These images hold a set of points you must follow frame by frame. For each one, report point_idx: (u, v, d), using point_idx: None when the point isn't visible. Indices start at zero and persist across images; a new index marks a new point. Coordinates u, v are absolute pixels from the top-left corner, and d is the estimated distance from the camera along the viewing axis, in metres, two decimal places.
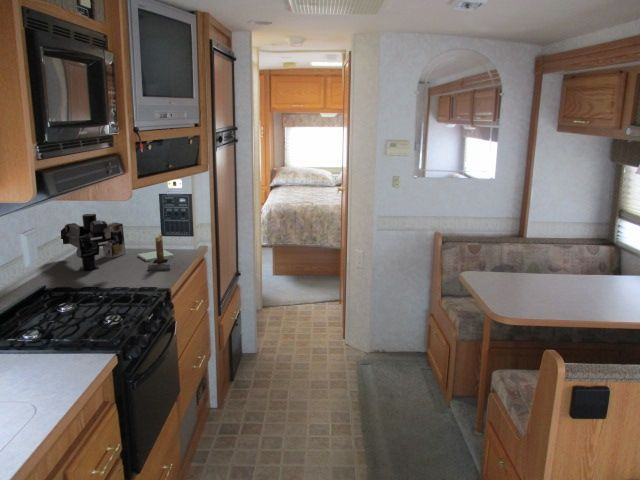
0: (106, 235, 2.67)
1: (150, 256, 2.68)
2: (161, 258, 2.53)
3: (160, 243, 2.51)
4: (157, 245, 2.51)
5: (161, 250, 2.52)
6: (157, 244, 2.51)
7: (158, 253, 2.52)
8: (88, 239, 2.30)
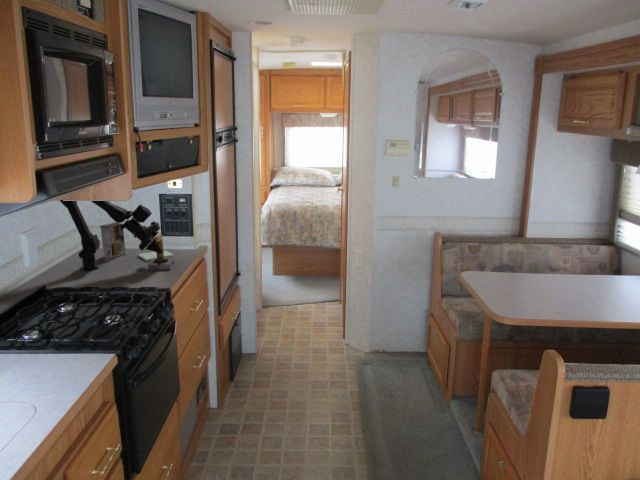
0: (106, 235, 2.67)
1: (150, 256, 2.68)
2: (161, 258, 2.53)
3: (160, 243, 2.51)
4: (157, 245, 2.51)
5: None
6: (157, 244, 2.51)
7: (158, 253, 2.52)
8: (154, 242, 2.49)
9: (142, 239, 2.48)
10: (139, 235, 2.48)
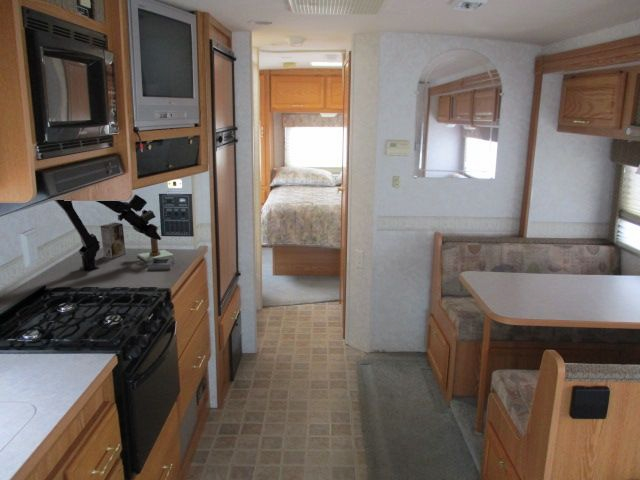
0: (106, 235, 2.67)
1: (150, 256, 2.68)
2: (157, 246, 2.69)
3: None
4: None
5: None
6: None
7: (154, 242, 2.68)
8: None
9: (141, 227, 2.61)
10: (138, 223, 2.59)
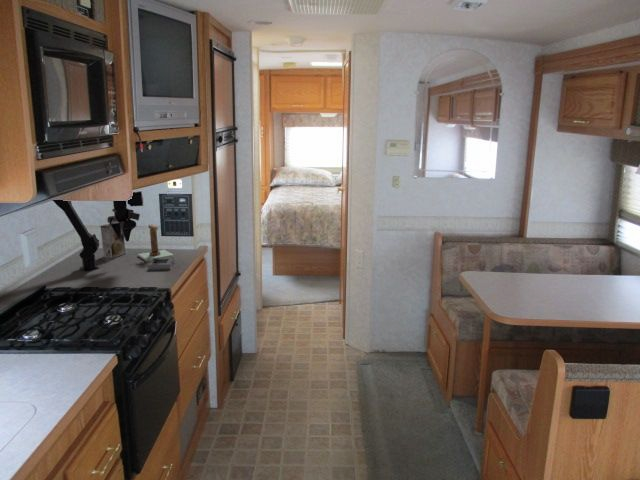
0: (106, 235, 2.67)
1: (150, 256, 2.68)
2: (157, 246, 2.69)
3: (156, 232, 2.67)
4: (153, 234, 2.66)
5: (156, 239, 2.68)
6: (153, 233, 2.66)
7: (154, 242, 2.67)
8: None
9: (121, 218, 2.47)
10: (122, 213, 2.47)
